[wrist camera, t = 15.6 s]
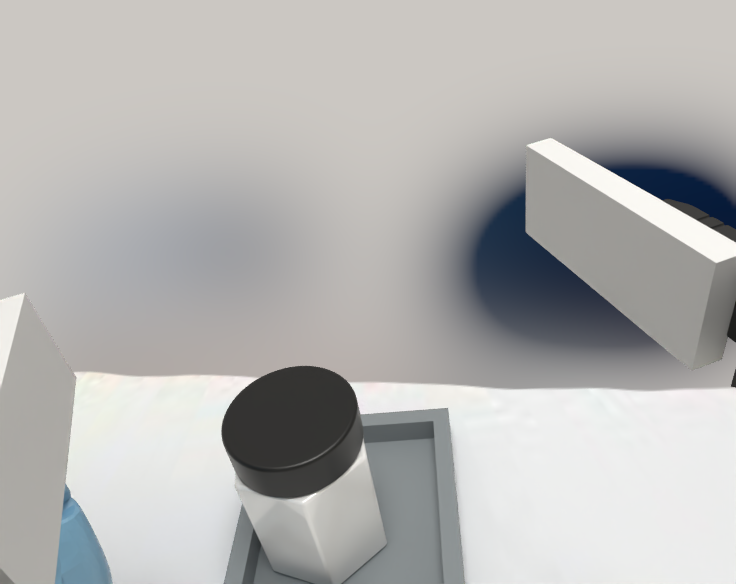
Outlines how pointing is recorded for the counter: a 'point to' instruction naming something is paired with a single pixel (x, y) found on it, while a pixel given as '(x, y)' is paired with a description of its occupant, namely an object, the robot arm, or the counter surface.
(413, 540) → the tray
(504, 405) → the counter surface
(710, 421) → the counter surface
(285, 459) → the jar
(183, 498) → the counter surface
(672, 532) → the counter surface
